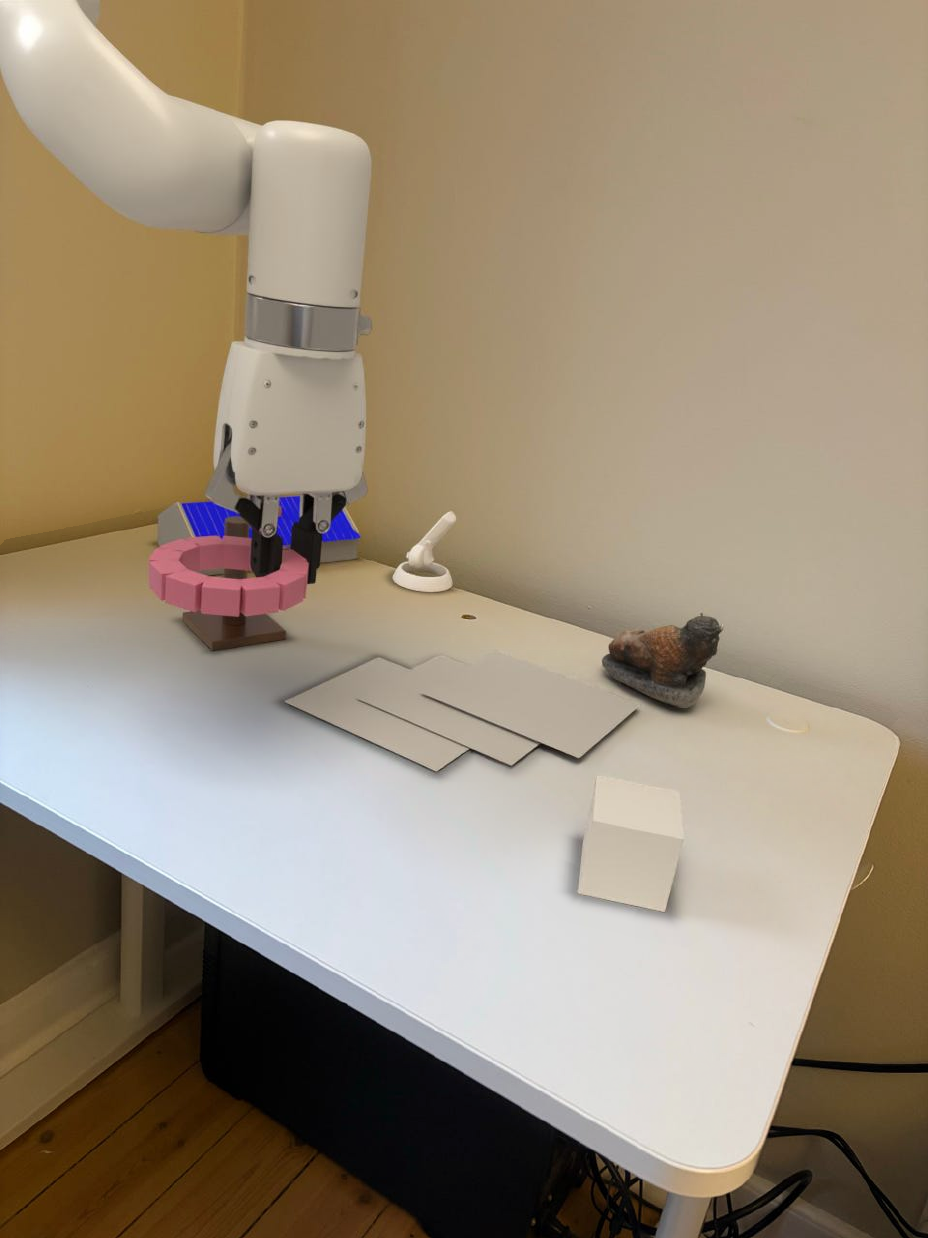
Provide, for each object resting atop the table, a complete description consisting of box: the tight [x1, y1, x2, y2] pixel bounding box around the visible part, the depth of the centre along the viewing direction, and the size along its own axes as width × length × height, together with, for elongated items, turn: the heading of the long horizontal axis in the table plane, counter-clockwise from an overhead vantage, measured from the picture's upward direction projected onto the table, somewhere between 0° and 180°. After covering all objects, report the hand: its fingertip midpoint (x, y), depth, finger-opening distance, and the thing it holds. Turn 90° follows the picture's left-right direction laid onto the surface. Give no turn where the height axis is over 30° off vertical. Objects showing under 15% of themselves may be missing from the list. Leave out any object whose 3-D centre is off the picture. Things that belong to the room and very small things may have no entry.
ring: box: [148, 536, 309, 617], centre depth 67 cm, size 11×11×2 cm
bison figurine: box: [601, 612, 725, 709], centre depth 93 cm, size 12×7×10 cm, turn 41°
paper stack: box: [284, 650, 642, 772], centre depth 86 cm, size 23×25×1 cm
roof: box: [156, 495, 361, 576], centre depth 118 cm, size 22×14×7 cm, turn 127°
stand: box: [181, 516, 287, 652], centre depth 94 cm, size 8×8×12 cm
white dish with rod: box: [392, 510, 457, 593], centre depth 114 cm, size 8×12×7 cm
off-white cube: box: [577, 774, 685, 913], centre depth 64 cm, size 6×6×6 cm
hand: (284, 578), depth 70 cm, fingers closed on ring, 2 cm apart
